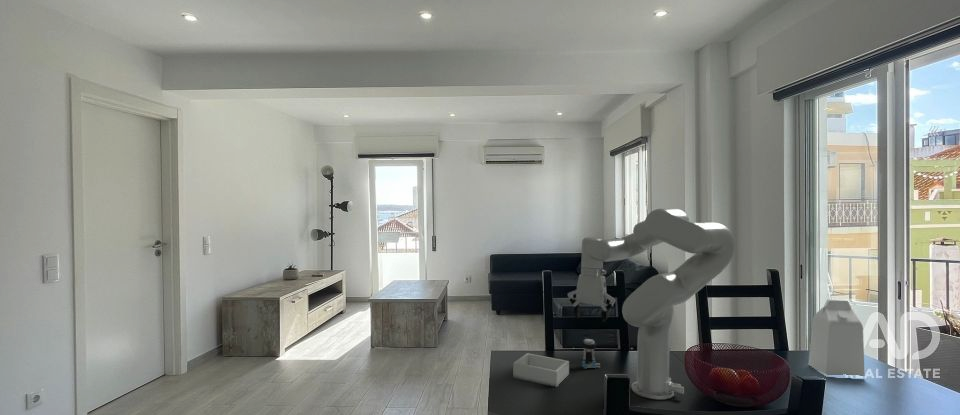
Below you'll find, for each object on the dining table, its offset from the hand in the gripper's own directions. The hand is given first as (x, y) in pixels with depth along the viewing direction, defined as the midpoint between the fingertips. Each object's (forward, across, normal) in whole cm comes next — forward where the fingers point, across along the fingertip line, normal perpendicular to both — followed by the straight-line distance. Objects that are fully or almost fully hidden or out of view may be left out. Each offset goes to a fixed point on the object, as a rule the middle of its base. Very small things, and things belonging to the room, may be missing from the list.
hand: (590, 319), depth 168 cm
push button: (+18, -1, 0) cm, 18 cm away
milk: (+17, -77, -42) cm, 89 cm away
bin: (+18, +11, +17) cm, 27 cm away
